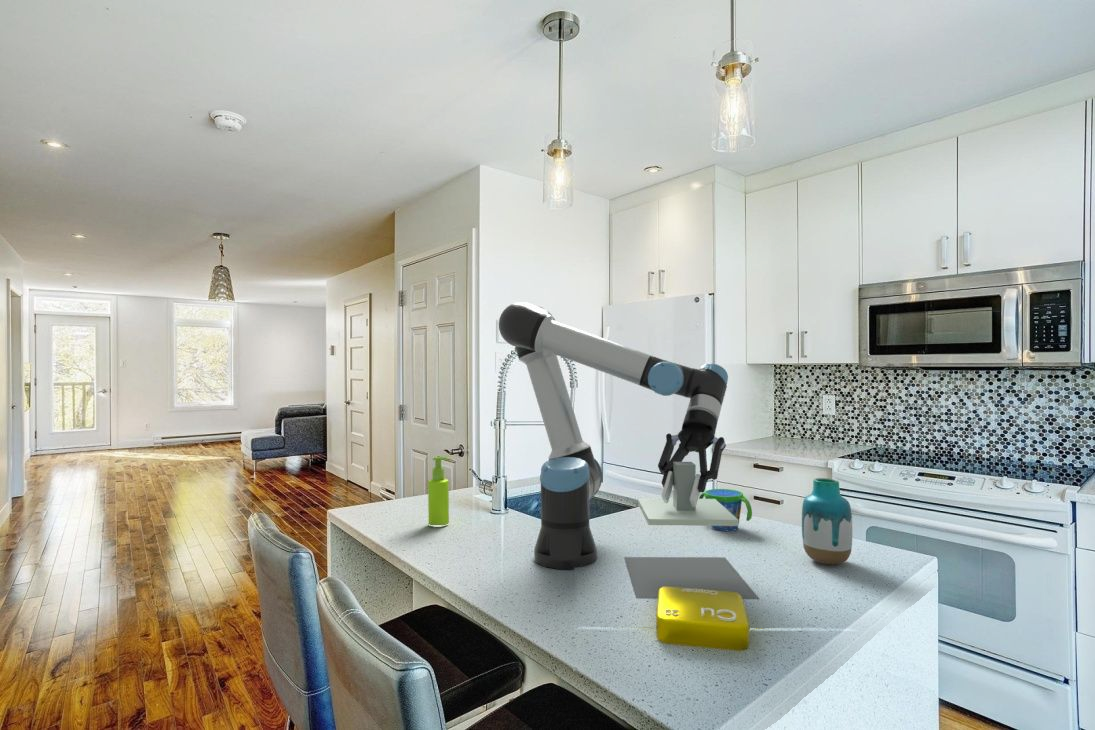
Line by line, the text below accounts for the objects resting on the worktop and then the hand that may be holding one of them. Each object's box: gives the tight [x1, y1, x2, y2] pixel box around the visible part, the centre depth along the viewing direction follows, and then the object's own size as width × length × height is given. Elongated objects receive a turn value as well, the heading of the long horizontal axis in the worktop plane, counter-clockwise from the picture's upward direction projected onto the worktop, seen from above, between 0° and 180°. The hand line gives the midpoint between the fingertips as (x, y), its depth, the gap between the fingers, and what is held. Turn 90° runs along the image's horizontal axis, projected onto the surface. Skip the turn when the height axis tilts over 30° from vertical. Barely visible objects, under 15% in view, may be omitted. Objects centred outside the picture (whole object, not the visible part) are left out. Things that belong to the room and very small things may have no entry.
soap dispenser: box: [427, 456, 453, 525], centre depth 165 cm, size 6×7×20 cm
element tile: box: [655, 586, 750, 652], centre depth 99 cm, size 15×15×5 cm
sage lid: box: [637, 461, 740, 527], centre depth 122 cm, size 18×18×11 cm
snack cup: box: [698, 488, 753, 532], centre depth 159 cm, size 16×10×10 cm
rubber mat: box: [623, 556, 760, 600], centre depth 122 cm, size 24×24×1 cm
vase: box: [801, 477, 853, 565], centre depth 131 cm, size 11×11×19 cm
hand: (678, 501), depth 119 cm, fingers closed on sage lid, 5 cm apart
